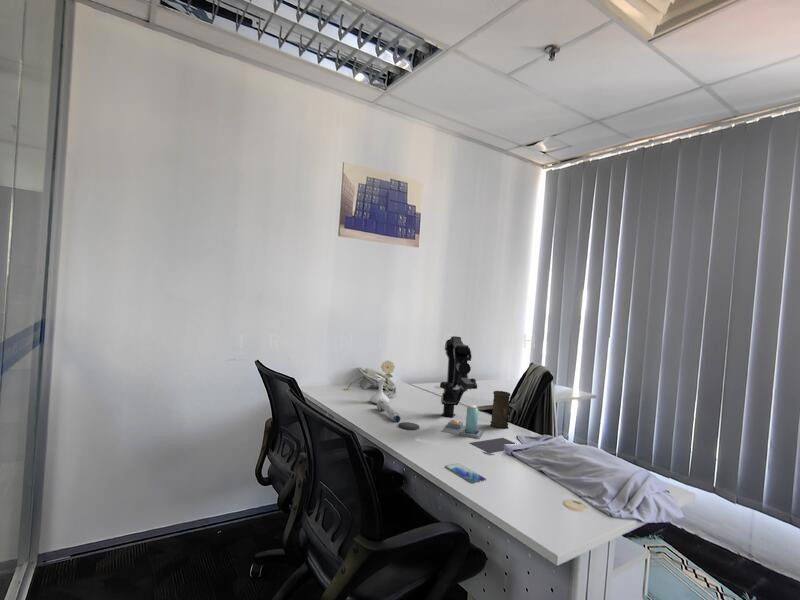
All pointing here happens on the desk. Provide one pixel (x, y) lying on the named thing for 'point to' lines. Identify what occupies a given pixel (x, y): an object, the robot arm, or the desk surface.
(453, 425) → the housing
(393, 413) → the white tube
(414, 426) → the pad
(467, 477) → the smartphone
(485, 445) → the notebook
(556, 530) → the desk surface
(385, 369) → the flower in vase
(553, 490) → the desk surface
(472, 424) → the cartridge
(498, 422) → the container
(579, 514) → the desk surface
